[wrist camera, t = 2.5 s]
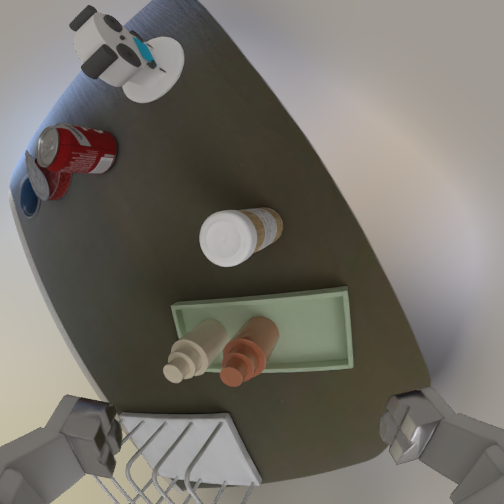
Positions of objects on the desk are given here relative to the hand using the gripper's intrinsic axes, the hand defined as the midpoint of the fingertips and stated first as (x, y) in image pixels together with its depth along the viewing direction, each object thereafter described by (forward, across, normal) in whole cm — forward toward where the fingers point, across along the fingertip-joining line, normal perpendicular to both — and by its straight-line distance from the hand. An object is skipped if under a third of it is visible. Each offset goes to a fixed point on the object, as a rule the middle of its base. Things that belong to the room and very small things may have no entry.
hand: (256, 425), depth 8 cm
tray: (+29, +4, -13) cm, 32 cm away
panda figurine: (+38, -13, +23) cm, 47 cm away
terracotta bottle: (+29, +4, -13) cm, 32 cm away
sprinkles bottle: (+30, +4, +1) cm, 31 cm away
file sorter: (+32, -8, -41) cm, 53 cm away
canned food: (+45, -33, +8) cm, 57 cm away
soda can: (+41, -20, +11) cm, 47 cm away
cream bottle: (+31, -2, -15) cm, 35 cm away
